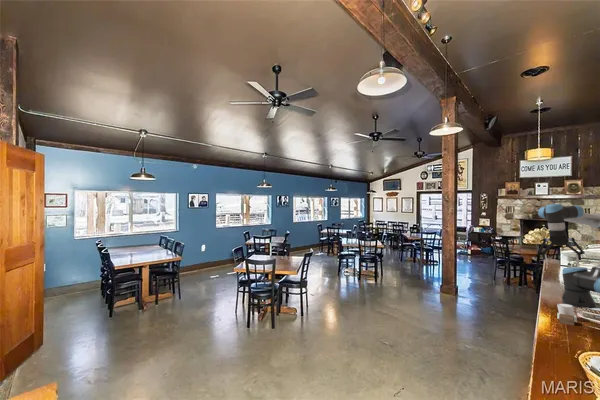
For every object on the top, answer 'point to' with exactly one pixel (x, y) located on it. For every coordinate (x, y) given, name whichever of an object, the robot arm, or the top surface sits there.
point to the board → (574, 317)
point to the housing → (566, 319)
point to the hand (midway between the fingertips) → (562, 265)
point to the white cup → (565, 309)
